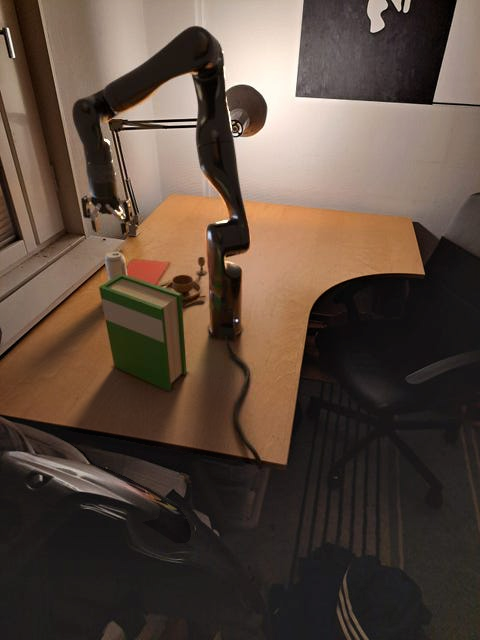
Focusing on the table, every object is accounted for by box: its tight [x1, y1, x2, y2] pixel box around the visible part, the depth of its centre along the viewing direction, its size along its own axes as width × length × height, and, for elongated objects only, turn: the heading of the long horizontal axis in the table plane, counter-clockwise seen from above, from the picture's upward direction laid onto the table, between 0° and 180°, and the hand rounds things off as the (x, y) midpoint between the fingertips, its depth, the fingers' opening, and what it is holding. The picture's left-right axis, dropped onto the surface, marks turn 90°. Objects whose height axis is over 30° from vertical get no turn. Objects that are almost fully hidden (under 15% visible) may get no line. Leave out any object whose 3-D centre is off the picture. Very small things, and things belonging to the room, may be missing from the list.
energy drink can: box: [104, 250, 127, 282], centre depth 134 cm, size 6×6×15 cm
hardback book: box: [98, 274, 187, 392], centre depth 102 cm, size 18×7×24 cm, turn 61°
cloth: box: [126, 259, 170, 285], centre depth 150 cm, size 20×14×1 cm
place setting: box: [159, 256, 207, 307], centre depth 141 cm, size 18×20×6 cm
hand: (111, 232), depth 125 cm, fingers open, 8 cm apart
